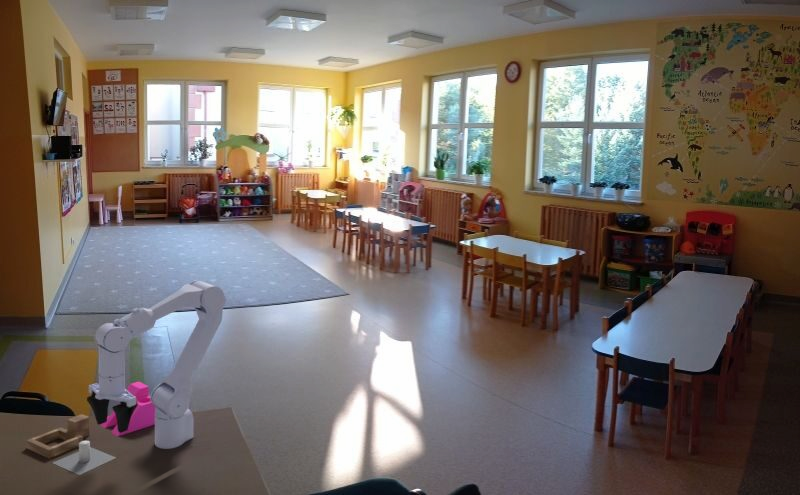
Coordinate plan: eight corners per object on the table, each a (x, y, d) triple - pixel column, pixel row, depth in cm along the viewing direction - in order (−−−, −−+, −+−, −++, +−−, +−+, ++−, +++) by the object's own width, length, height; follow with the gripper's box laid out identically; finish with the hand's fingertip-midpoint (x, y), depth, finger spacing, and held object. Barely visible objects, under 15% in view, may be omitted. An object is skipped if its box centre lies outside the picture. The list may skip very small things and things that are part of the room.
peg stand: (89, 450, 160) (89, 430, 159) (116, 461, 156) (116, 440, 155) (52, 466, 151) (51, 445, 151) (79, 479, 147) (79, 456, 146)
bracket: (139, 415, 182) (138, 381, 180) (158, 426, 176) (158, 391, 174) (97, 428, 173) (97, 392, 171) (116, 440, 166) (116, 403, 165)
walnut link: (74, 430, 169) (74, 411, 168) (97, 439, 165) (96, 419, 164) (26, 449, 157) (26, 429, 157) (49, 459, 153) (48, 438, 152)
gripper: (76, 371, 151) (78, 425, 153) (118, 385, 144) (118, 441, 147) (102, 363, 157) (103, 415, 159) (143, 376, 151) (143, 430, 153)
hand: (112, 427), depth 153 cm, fingers open, 7 cm apart
